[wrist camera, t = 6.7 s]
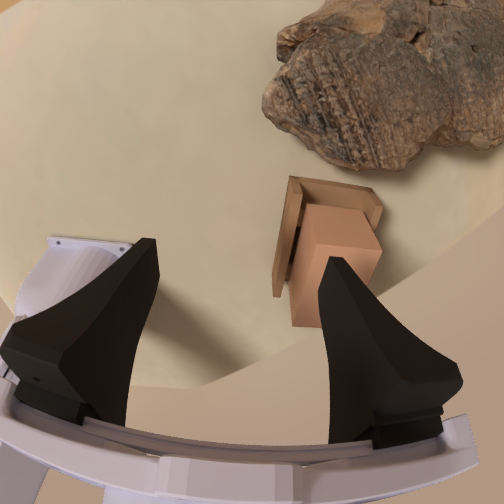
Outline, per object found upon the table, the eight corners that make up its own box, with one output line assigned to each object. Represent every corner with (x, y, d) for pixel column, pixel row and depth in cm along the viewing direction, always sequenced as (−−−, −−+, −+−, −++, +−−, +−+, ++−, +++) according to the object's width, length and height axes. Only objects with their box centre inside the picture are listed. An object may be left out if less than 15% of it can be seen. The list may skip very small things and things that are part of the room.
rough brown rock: (305, 194, 22) (512, 124, 16) (314, 229, 18) (549, 144, 12) (216, 18, 14) (466, -35, 8) (200, 6, 10) (504, -42, 4)
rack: (340, 278, 26) (346, 301, 24) (271, 273, 26) (272, 296, 24) (371, 188, 20) (383, 206, 18) (289, 175, 20) (293, 193, 18)
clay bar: (336, 285, 24) (346, 328, 20) (288, 281, 24) (292, 326, 20) (361, 210, 19) (382, 250, 16) (306, 203, 19) (316, 243, 16)
